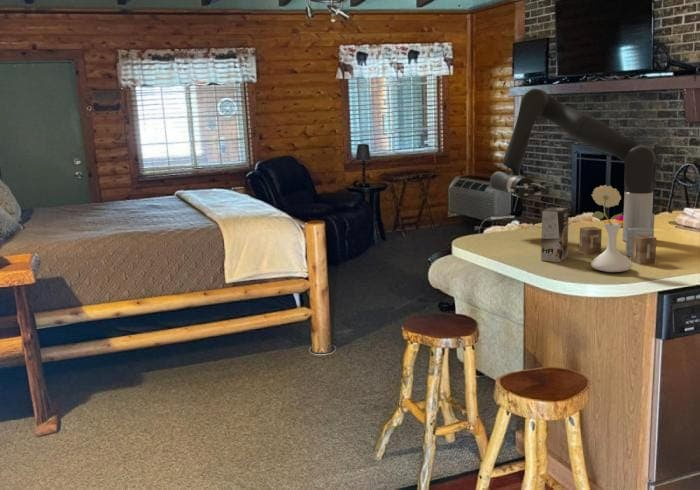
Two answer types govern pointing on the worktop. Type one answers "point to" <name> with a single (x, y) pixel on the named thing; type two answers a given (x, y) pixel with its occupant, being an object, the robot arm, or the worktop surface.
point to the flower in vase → (609, 233)
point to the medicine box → (634, 232)
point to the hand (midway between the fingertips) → (540, 192)
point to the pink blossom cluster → (616, 220)
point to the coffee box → (554, 234)
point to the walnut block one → (643, 249)
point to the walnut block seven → (590, 240)
